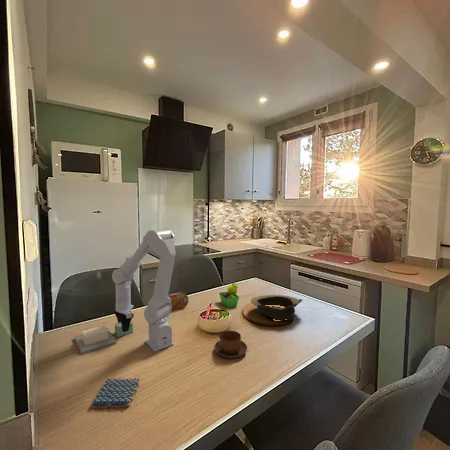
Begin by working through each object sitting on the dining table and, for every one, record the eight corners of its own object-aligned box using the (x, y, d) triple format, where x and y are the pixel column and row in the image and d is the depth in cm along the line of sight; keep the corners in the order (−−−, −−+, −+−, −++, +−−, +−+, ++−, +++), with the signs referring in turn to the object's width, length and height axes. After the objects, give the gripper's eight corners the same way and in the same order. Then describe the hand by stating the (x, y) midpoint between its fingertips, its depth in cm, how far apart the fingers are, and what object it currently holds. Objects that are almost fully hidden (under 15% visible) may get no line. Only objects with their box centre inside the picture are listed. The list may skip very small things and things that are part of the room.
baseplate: (116, 343, 100) (116, 333, 99) (81, 354, 92) (81, 343, 92) (106, 330, 111) (106, 320, 110) (74, 338, 103) (74, 329, 103)
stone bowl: (293, 329, 112) (292, 308, 111) (242, 320, 125) (240, 301, 124) (307, 310, 133) (306, 292, 132) (262, 303, 146) (261, 287, 145)
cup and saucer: (208, 355, 93) (208, 338, 92) (223, 340, 103) (224, 325, 103) (238, 365, 87) (238, 347, 87) (252, 348, 98) (252, 332, 97)
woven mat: (141, 382, 78) (141, 376, 78) (129, 410, 68) (129, 403, 68) (106, 383, 78) (106, 376, 78) (89, 411, 68) (89, 403, 67)
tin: (161, 314, 127) (161, 297, 127) (158, 312, 130) (158, 295, 129) (188, 307, 136) (188, 292, 135) (186, 305, 138) (186, 290, 138)
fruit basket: (218, 301, 145) (218, 281, 144) (232, 299, 149) (232, 279, 148) (227, 308, 135) (227, 287, 134) (241, 306, 139) (242, 285, 138)
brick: (132, 332, 109) (132, 323, 108) (118, 337, 105) (117, 327, 105) (129, 329, 112) (129, 320, 111) (115, 333, 108) (114, 323, 108)
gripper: (139, 300, 104) (139, 332, 105) (127, 290, 115) (127, 320, 116) (121, 304, 100) (121, 338, 101) (110, 294, 111) (111, 324, 112)
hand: (123, 329), depth 108 cm, fingers closed on brick, 4 cm apart
